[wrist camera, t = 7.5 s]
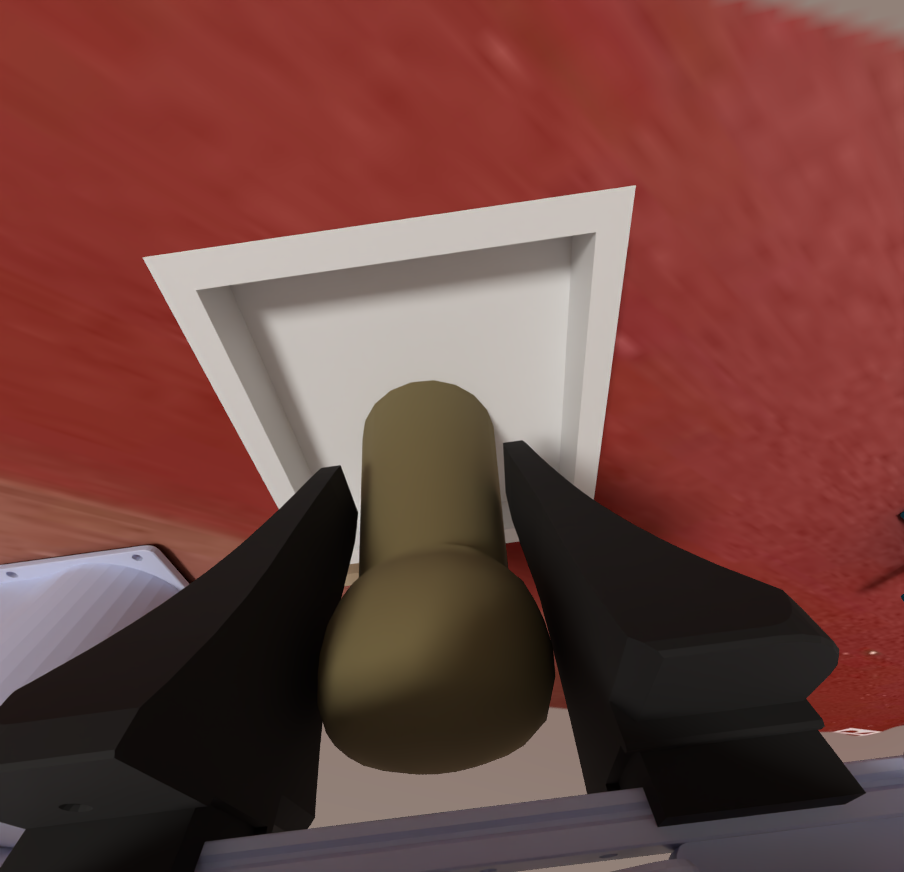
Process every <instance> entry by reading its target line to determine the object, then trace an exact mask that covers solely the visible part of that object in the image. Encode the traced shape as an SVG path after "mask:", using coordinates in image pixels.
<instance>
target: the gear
mask: <svg viewBox="0 0 904 872" xmlns="http://www.w3.org/2000/svg"><path fill="white" fill-rule="evenodd" d="M900 516H901V517H902V518H904V512H902V513H901V515H900ZM901 598H902V600H903V601H904V594H903V595H902V596H901Z"/></svg>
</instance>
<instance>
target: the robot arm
mask: <svg viewBox="0 0 904 872" xmlns="http://www.w3.org/2000/svg"><path fill="white" fill-rule="evenodd" d="M503 454H504V473H505V493H506V497H507V501H508V506H509V510H510V514H511V518H512V522H513V525H514V527H515V530H516V533H517V536H518V538H519V541H520V544H521V547H522V549H523V552H524V555H525V558H526V560H527V563H528V566H529V568H530V571H531V574H532V577H533V579H534V582H535V585H536V588H537V591H538V594H539V597H540V601H541V604H542V608H543V612H544V616H545V620H546V623H547V627H548V631H549V635H550V639H551V643H552V646H553V651H554V655H555V659H556V663H557V667H558V671H559V675H560V679H561V683H562V687H563V691H564V695H565V699H566V704H567V708H568V712H569V716H570V720H571V725H572V729H573V733H574V737H575V742H576V746H577V750H578V755H579V759H580V764H581V768H582V773H583V777H584V782H585V786H586V791H587V794H586V795H578V796H570V797H562V798H554V799H545V800H537V801H530V802H521V803H513V804H505V805H497V806H489V807H481V808H473V809H465V810H457V811H449V812H440V813H432V814H425V815H417V816H408V817H400V818H392V819H385V820H376V821H368V822H360V823H353V824H344V825H336V826H328V827H320V828H311V829H308V827H309V826H310V825H311V823H312V821H313V820H314V818H315V805H316V790H317V779H318V765H319V751H320V742H321V732H322V722H323V721H322V718H321V714H320V711H319V708H318V705H317V685H318V666H319V656H320V651H321V647H322V644H323V640H324V636H325V632H326V628H327V625H328V623H329V621H330V619H331V617H332V615H333V613H334V611H335V609H336V607H337V605H338V603H339V601H340V600H341V597H342V593H343V589H344V585H345V581H346V577H347V573H348V569H349V565H350V561H351V557H352V553H353V549H354V545H355V539H356V531H357V521H358V510H357V508H356V505H355V502H354V500H353V497H352V494H351V492H350V489H349V486H348V484H347V481H346V478H345V476H344V473H343V470H342V468H341V465H338V466H331V467H323V468H321V469H319V470H318V471H317V472H316V473H315V474H314V475H313V476H312V477H311V478H310V479H309V480H308V481H307V482H306V483H305V484H304V485H303V486H302V487H301V488H300V489H299V490H298V491H297V492H296V493H295V494H294V495H293V496H292V497H291V498H290V499H289V500H288V501H287V502H286V503H285V504H284V505H283V506H282V507H281V508H280V509H279V510H278V511H277V512H276V513H275V514H274V515H273V516H272V517H271V518H269V519H268V520H267V521H266V522H265V523H264V524H263V525H262V526H261V527H260V528H259V529H257V530H256V531H255V532H254V533H253V534H252V535H251V536H250V537H249V538H248V539H247V540H245V541H244V542H243V543H242V544H241V545H240V546H238V547H237V548H236V549H235V550H234V551H232V552H231V553H230V554H229V555H228V556H226V557H225V558H224V559H223V560H221V561H220V562H219V563H217V564H216V565H215V566H214V567H212V568H211V569H210V570H208V571H207V572H206V573H205V574H203V575H202V576H200V577H199V578H198V579H196V580H195V581H193V582H192V583H191V584H189V583H188V582H187V581H186V579H185V578H184V577H183V576H182V575H181V574H180V573H179V571H178V570H177V569H176V568H175V567H174V566H173V565H172V563H171V562H170V561H169V560H168V559H167V558H166V557H165V555H164V554H163V553H162V552H161V551H160V550H159V549H158V548H157V547H155V546H151V545H144V546H137V547H130V548H122V549H115V550H108V551H100V552H93V553H86V554H78V555H71V556H63V557H56V558H49V559H41V560H34V561H27V562H19V563H12V564H5V565H0V872H516V871H524V870H533V869H540V868H549V867H557V866H566V865H574V864H582V863H590V862H599V861H607V860H615V859H623V858H631V857H639V856H648V855H656V854H664V853H671V855H670V857H669V860H664V861H659V862H653V863H648V864H644V865H639V866H635V867H630V868H626V869H622V870H617V871H612V872H904V755H900V756H893V757H885V758H876V759H868V760H860V761H852V762H844V763H843V762H842V761H841V760H840V758H839V757H838V756H837V754H836V753H835V752H834V750H833V749H832V748H831V747H830V745H829V744H828V743H827V741H826V740H825V739H824V737H823V736H822V735H821V734H820V732H819V731H818V730H819V729H822V728H823V727H824V722H823V719H822V718H821V717H820V716H819V714H818V713H817V712H816V711H815V709H814V708H813V707H812V706H811V704H810V703H809V702H808V701H807V699H806V698H807V697H808V696H809V695H810V694H811V693H812V692H813V691H814V690H815V689H816V688H817V687H818V686H819V685H820V684H821V683H822V682H823V681H824V680H825V679H826V678H827V677H828V676H829V675H830V674H831V673H832V671H833V670H834V668H835V667H836V666H837V664H838V657H839V648H838V647H837V646H836V644H835V643H834V641H833V640H832V639H831V638H830V637H829V636H828V635H827V634H826V633H825V632H824V631H823V630H822V629H821V628H820V627H819V626H818V625H817V624H816V623H815V622H814V621H813V620H812V619H811V618H810V616H809V615H808V614H807V613H806V612H805V611H804V610H803V609H802V608H801V607H800V606H799V605H798V604H797V603H796V602H795V601H794V600H793V599H792V598H790V597H789V596H788V595H787V594H786V593H785V592H784V591H783V590H781V589H779V588H776V587H774V586H771V585H768V584H766V583H763V582H761V581H758V580H755V579H753V578H750V577H748V576H745V575H742V574H740V573H737V572H735V571H732V570H729V569H727V568H724V567H722V566H719V565H717V564H714V563H712V562H710V561H708V560H705V559H703V558H701V557H699V556H696V555H694V554H692V553H690V552H687V551H685V550H683V549H681V548H679V547H677V546H674V545H672V544H670V543H668V542H666V541H664V540H662V539H660V538H658V537H656V536H654V535H652V534H651V533H649V532H647V531H645V530H643V529H641V528H639V527H637V526H635V525H634V524H632V523H630V522H628V521H627V520H625V519H623V518H621V517H620V516H618V515H617V514H615V513H613V512H612V511H610V510H609V509H607V508H605V507H604V506H602V505H601V504H599V503H598V502H596V501H595V500H593V499H592V498H590V497H589V496H588V495H586V494H585V493H584V492H582V491H581V490H579V489H578V488H577V487H576V486H574V485H573V484H572V483H570V482H569V481H568V480H567V479H566V478H564V477H563V476H562V475H561V474H560V473H558V472H557V471H556V470H555V469H554V468H552V467H551V466H550V465H549V464H548V463H547V462H546V461H545V460H544V459H542V458H541V457H540V456H539V455H538V454H537V453H536V452H535V451H534V450H533V449H532V448H531V447H530V446H529V445H528V444H527V443H526V442H524V441H523V440H520V441H513V442H505V443H503Z"/></svg>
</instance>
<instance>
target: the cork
mask: <svg viewBox="0 0 904 872" xmlns="http://www.w3.org/2000/svg"><path fill="white" fill-rule="evenodd" d="M554 680H555V666H554V654H553V646H552V643H551V640H550V636H549V633H548V630H547V627H546V624H545V621H544V619H543V617H542V615H541V612H540V610H539V608H538V606H537V604H536V602H535V600H534V598H533V597H532V595H531V594H530V592H529V590H528V589H527V587H526V585H525V584H524V582H523V581H522V580H521V579H520V578H518V577H517V576H516V575H515V574H514V573H512V572H511V571H510V570H509V569H508V562H507V552H506V543H505V533H504V523H503V513H502V503H501V494H500V484H499V474H498V464H497V455H496V445H495V435H494V426H493V424H492V421H491V419H490V416H489V413H488V411H487V409H486V408H485V407H484V406H483V405H482V403H481V402H480V401H479V400H478V399H477V398H476V397H475V396H474V395H473V394H471V393H469V392H468V391H466V390H464V389H462V388H461V387H459V386H457V385H454V384H450V383H445V382H440V381H435V380H430V381H419V382H410V383H408V384H405V385H403V386H401V387H398V388H396V389H393V390H391V391H389V392H388V393H387V394H386V395H385V396H384V397H382V398H381V399H380V400H379V401H378V402H377V403H375V404H374V406H373V408H372V410H371V411H370V413H369V415H368V417H367V418H366V420H365V425H364V432H363V439H362V473H361V509H360V546H359V578H358V579H357V580H356V581H355V582H353V584H352V585H351V586H350V588H349V589H348V590H347V592H346V593H345V594H344V596H343V597H342V599H341V600H340V601H339V603H338V605H337V607H336V609H335V611H334V613H333V615H332V617H331V619H330V621H329V623H328V625H327V628H326V632H325V636H324V640H323V644H322V647H321V651H320V656H319V666H318V685H317V705H318V708H319V711H320V714H321V718H322V721H323V724H324V727H325V731H326V733H327V735H328V736H329V738H330V739H331V741H332V742H333V744H334V745H335V746H336V747H337V748H338V749H339V750H340V751H342V752H343V753H344V754H345V755H347V756H348V757H349V758H351V759H353V760H354V761H356V762H358V763H360V764H362V765H364V766H368V767H371V768H375V769H379V770H382V771H389V772H399V773H408V774H441V773H449V772H456V771H461V770H465V769H469V768H473V767H476V766H479V765H483V764H486V763H488V762H491V761H493V760H496V759H499V758H502V757H504V756H507V755H509V754H510V753H512V752H514V751H515V750H517V749H519V748H520V747H522V746H523V745H525V744H526V742H527V741H528V740H529V739H530V738H531V737H532V736H533V735H534V734H535V733H536V731H537V730H538V729H539V728H540V727H541V726H542V724H543V723H544V722H545V721H546V719H547V714H548V710H549V705H550V700H551V695H552V690H553V685H554Z"/></svg>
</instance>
